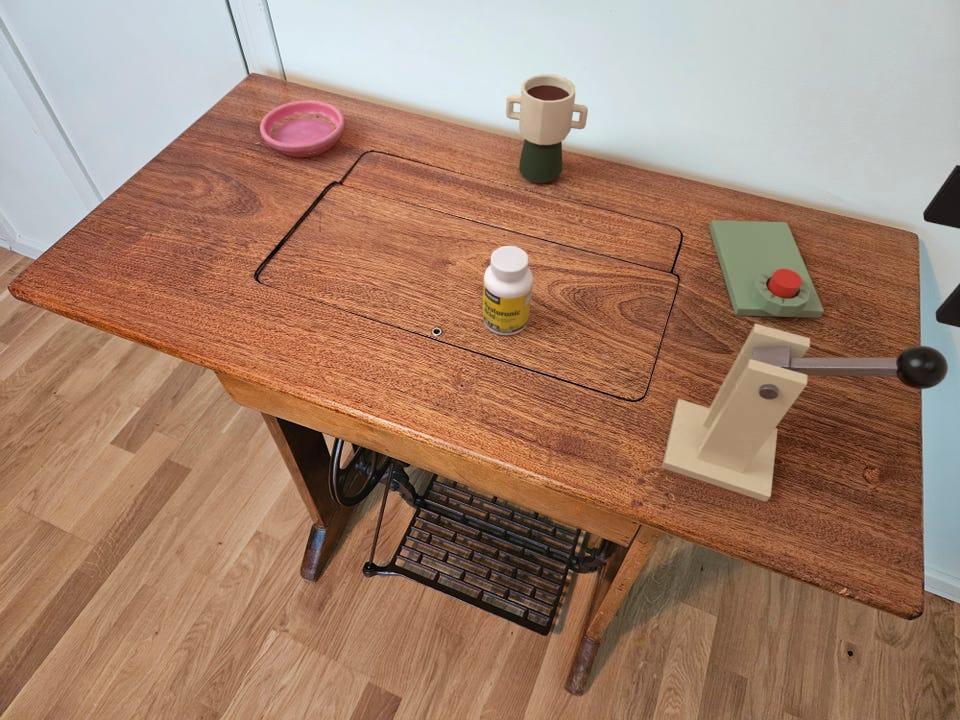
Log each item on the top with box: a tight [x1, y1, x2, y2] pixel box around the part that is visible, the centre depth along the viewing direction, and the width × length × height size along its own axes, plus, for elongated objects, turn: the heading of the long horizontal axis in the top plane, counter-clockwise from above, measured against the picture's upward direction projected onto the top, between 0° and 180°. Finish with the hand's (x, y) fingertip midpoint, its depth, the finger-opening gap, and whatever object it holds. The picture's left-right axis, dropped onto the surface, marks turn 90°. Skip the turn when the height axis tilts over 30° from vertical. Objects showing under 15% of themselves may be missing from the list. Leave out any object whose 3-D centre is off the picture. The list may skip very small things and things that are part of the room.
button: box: [768, 269, 802, 299], centre depth 72 cm, size 3×3×2 cm
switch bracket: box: [661, 323, 811, 503], centre depth 56 cm, size 10×8×16 cm
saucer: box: [259, 99, 346, 158], centre depth 93 cm, size 12×12×3 cm
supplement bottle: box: [482, 245, 534, 336], centre depth 69 cm, size 5×5×10 cm
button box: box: [708, 219, 825, 319], centre depth 77 cm, size 17×10×3 cm, turn 178°
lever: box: [752, 345, 949, 390], centre depth 48 cm, size 13×3×3 cm, turn 69°
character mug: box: [505, 73, 589, 184], centre depth 85 cm, size 11×7×13 cm, turn 75°
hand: (954, 270), depth 39 cm, fingers open, 9 cm apart
